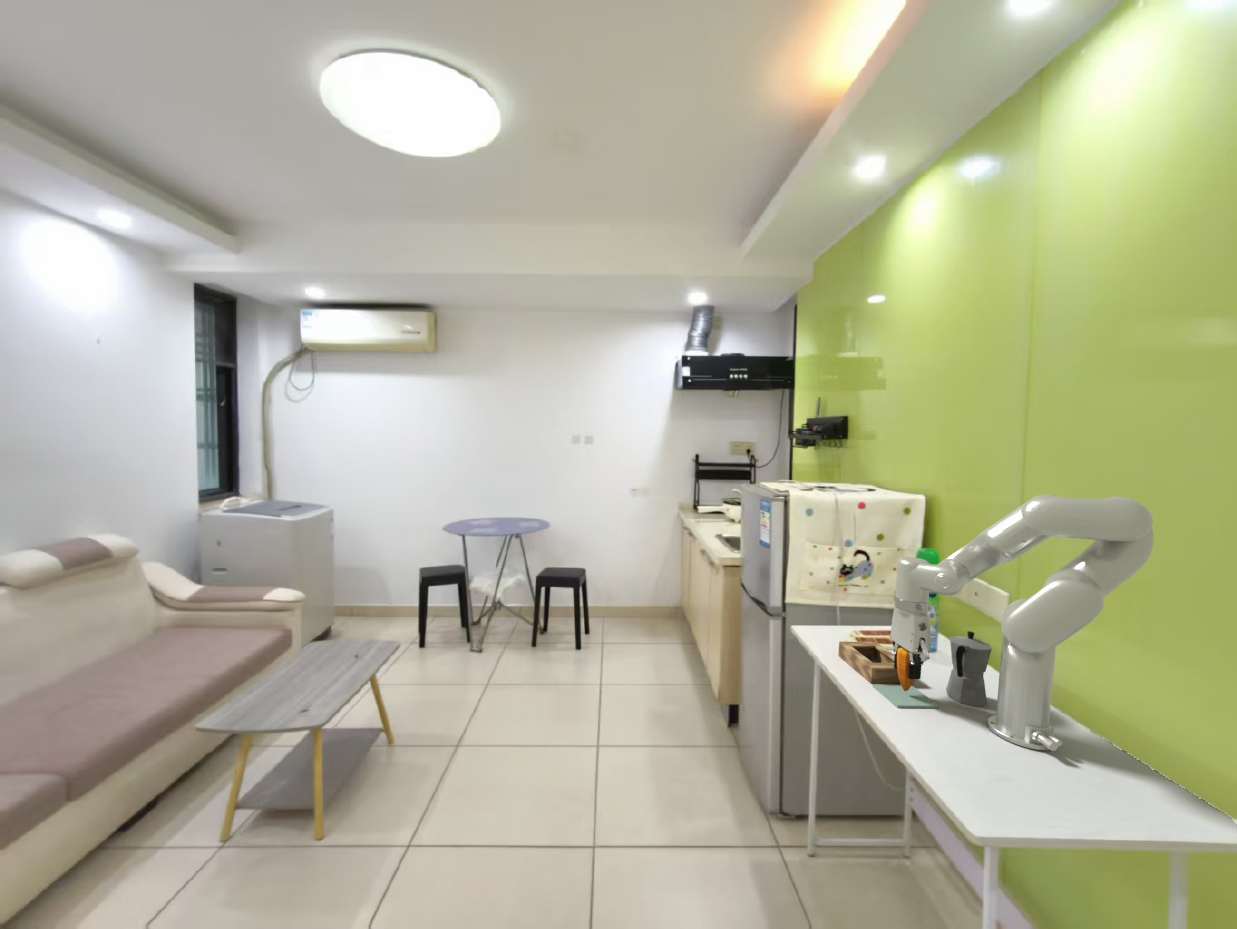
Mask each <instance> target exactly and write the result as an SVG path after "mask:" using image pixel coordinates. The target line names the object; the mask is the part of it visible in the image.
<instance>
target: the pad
mask: <svg viewBox="0 0 1237 929" xmlns="http://www.w3.org/2000/svg"><path fill="white" fill-rule="evenodd" d="M871 685H872V688H874V690H876V691H878V692H879V694H880V695H882V697H884V698H886V700H888V701H889V702H890V703H891V704H892V705H893V706H894V707H896V708H898V709H903V708H904V709H939V708H940V705H938V704H937V703H936V702H935V701H934V700H932V699H931V698H929V697H928V696H927V695H925V694H924V693H923V692H921V691H920V690H919V689H917V687H915V686H914V685H912V686H911V687H910V688H909V690H907V691H904V689H903V688H902V685H901V684H871Z"/></svg>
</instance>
